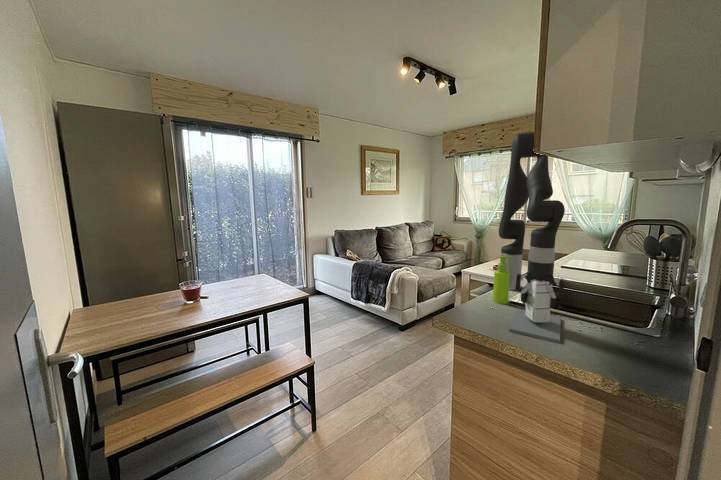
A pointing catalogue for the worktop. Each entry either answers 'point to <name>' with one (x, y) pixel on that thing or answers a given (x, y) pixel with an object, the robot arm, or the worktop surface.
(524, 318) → the slate mat
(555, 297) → the robot arm
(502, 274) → the soap dispenser
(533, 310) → the syrup box
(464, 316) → the worktop surface
